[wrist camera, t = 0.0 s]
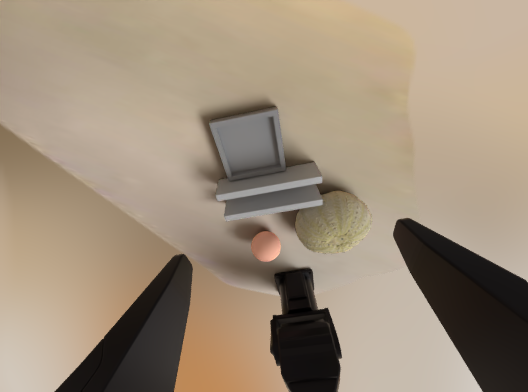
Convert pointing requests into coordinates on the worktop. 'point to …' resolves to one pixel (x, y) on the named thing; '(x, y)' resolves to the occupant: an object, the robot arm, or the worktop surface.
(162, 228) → the worktop surface
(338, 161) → the worktop surface
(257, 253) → the ball
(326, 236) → the sea urchin shell
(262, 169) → the coaster
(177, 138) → the worktop surface
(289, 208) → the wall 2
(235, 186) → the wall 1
